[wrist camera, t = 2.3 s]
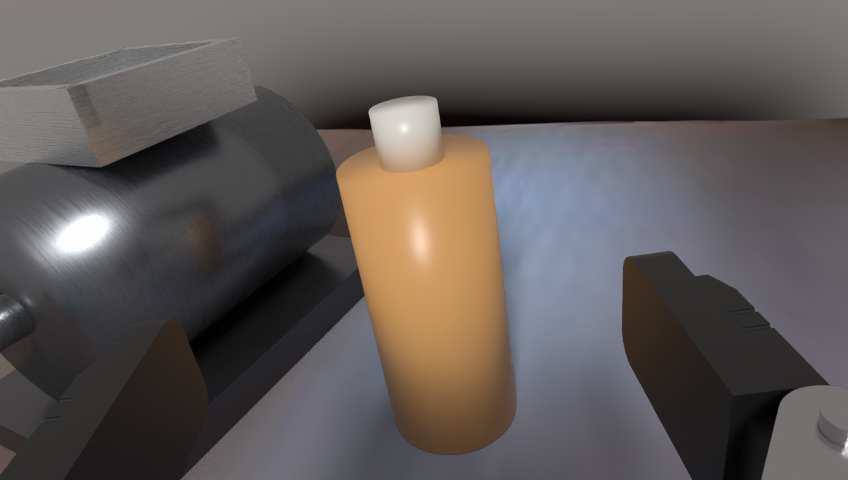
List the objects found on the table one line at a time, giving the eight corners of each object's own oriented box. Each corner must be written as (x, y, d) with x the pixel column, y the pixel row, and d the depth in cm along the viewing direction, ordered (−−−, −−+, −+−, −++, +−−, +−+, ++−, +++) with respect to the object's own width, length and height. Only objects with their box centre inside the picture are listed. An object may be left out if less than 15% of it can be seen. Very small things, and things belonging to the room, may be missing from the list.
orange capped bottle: (429, 355, 30) (378, 85, 24) (533, 379, 27) (507, 81, 21) (371, 434, 26) (289, 131, 19) (487, 470, 23) (437, 133, 17)
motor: (249, 247, 45) (177, 30, 37) (391, 268, 39) (338, 13, 31) (-62, 463, 28) (-300, 153, 21) (97, 561, 22) (-163, 168, 15)
